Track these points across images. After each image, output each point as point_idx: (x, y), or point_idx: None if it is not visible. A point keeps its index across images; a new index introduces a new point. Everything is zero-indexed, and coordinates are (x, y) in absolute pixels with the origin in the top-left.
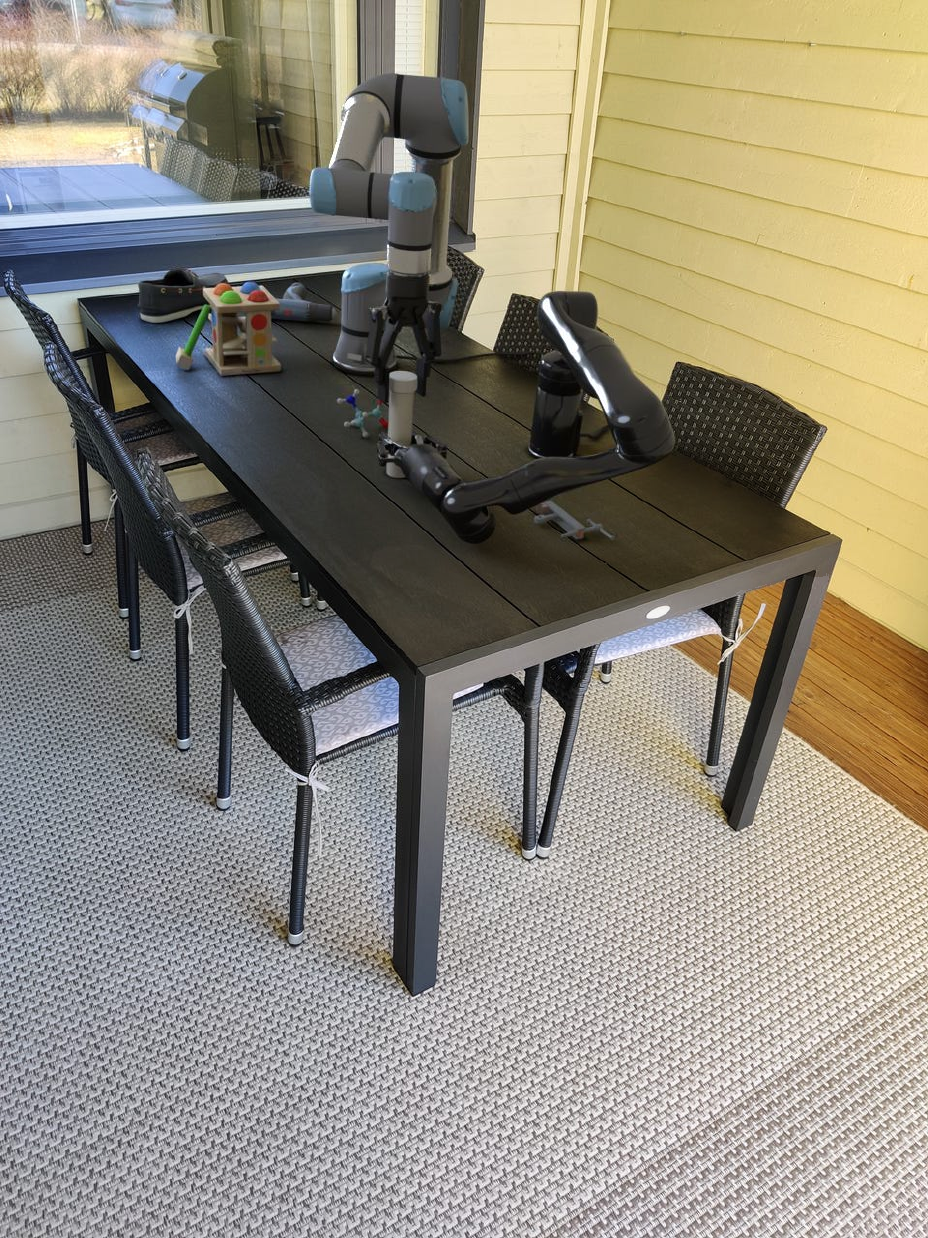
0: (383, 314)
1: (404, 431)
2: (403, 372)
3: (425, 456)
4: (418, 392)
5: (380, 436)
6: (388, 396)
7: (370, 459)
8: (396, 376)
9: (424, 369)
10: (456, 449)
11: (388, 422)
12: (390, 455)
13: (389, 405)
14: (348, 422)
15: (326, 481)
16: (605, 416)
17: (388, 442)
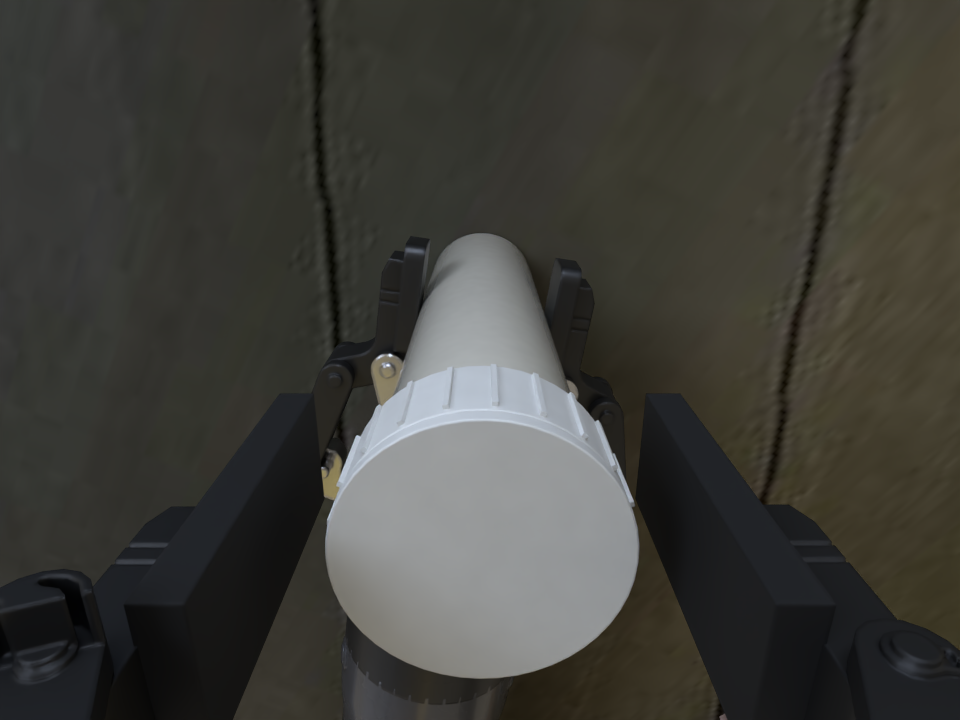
0: None
1: None
2: (548, 482)
3: (392, 708)
4: (643, 455)
5: (386, 284)
6: (311, 526)
7: (436, 107)
8: (409, 549)
9: (718, 686)
10: (864, 183)
11: (411, 337)
12: (339, 475)
13: (394, 389)
14: None
15: (162, 227)
16: None
17: (376, 392)
